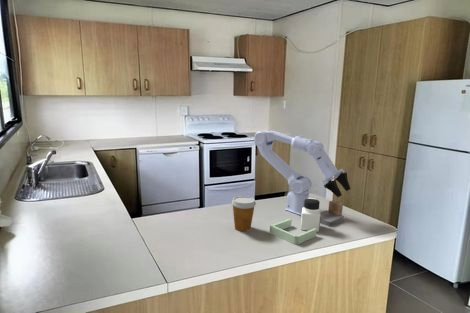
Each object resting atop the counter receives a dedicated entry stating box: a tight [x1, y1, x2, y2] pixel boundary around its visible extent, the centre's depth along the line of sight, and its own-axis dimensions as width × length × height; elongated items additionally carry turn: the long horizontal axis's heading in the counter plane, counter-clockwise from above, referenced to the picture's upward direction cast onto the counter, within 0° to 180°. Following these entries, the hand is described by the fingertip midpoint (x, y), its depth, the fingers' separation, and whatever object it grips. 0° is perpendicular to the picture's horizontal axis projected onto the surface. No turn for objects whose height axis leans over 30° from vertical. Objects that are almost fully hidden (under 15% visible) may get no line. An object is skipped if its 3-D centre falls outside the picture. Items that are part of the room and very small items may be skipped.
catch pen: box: [269, 218, 317, 246], centre depth 124 cm, size 13×12×3 cm
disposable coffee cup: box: [231, 195, 257, 232], centre depth 128 cm, size 10×10×12 cm
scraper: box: [320, 200, 345, 227], centre depth 140 cm, size 9×12×7 cm
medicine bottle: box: [300, 197, 321, 233], centre depth 131 cm, size 7×7×12 cm
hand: (344, 193), depth 137 cm, fingers open, 7 cm apart
